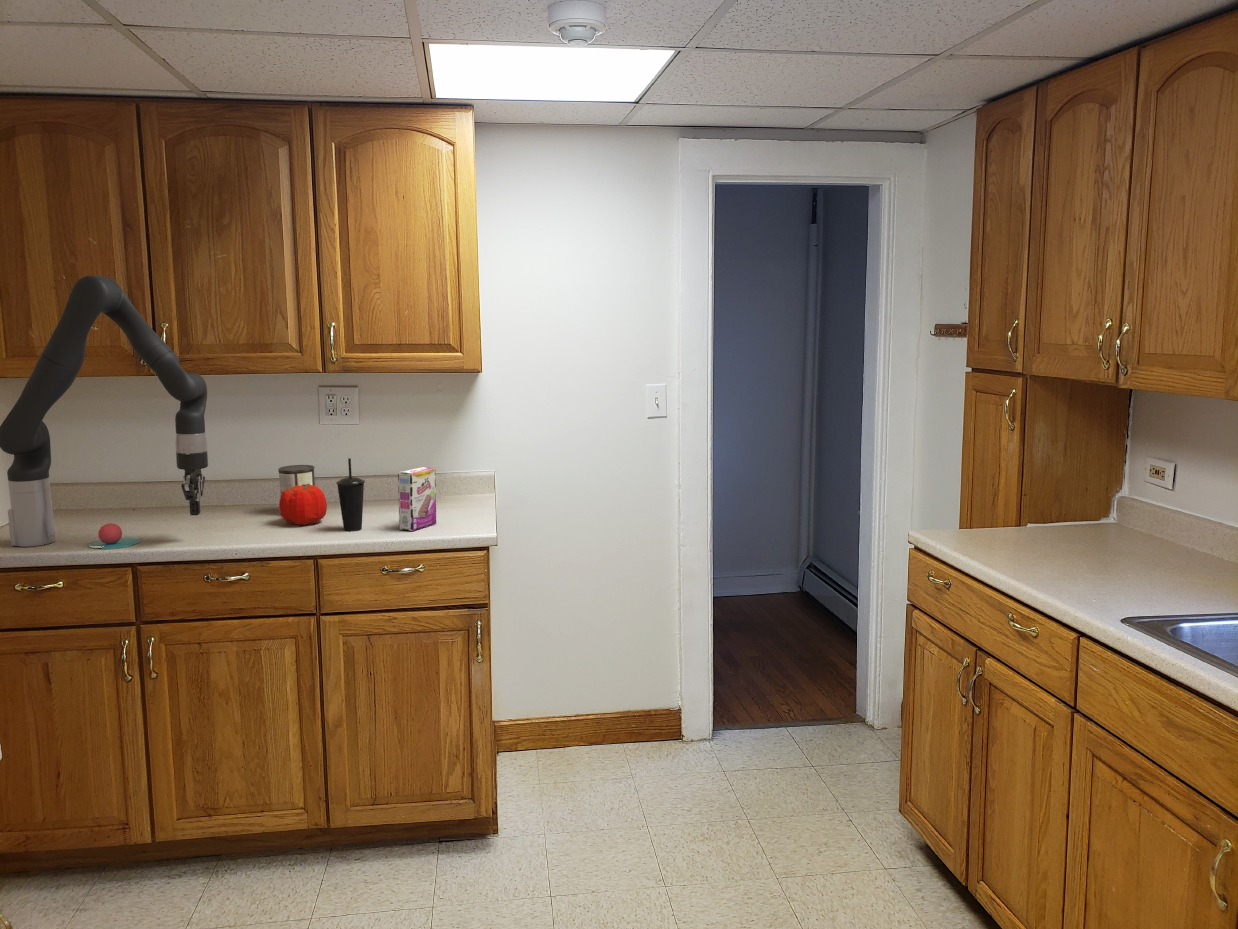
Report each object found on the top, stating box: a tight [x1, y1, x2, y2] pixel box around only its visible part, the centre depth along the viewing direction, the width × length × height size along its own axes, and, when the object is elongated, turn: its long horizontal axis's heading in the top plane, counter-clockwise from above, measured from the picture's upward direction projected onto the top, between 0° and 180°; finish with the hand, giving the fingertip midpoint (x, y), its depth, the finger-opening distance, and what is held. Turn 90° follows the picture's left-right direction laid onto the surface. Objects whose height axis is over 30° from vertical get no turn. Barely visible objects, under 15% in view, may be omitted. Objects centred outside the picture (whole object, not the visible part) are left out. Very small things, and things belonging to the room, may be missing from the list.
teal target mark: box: [88, 537, 141, 550], centre depth 249 cm, size 12×12×1 cm
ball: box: [97, 522, 123, 544], centre depth 248 cm, size 6×6×6 cm
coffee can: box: [278, 464, 316, 496], centre depth 285 cm, size 10×10×14 cm
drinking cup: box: [335, 457, 366, 532], centre depth 263 cm, size 8×8×20 cm
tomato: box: [278, 485, 328, 526], centre depth 272 cm, size 14×13×10 cm
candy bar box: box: [397, 466, 437, 532], centre depth 266 cm, size 11×5×16 cm, turn 154°
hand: (195, 514), depth 251 cm, fingers closed
